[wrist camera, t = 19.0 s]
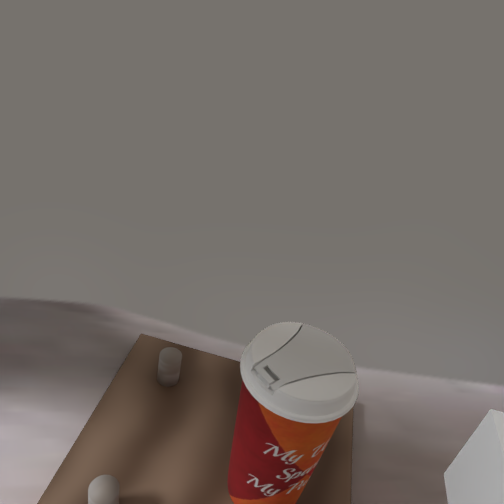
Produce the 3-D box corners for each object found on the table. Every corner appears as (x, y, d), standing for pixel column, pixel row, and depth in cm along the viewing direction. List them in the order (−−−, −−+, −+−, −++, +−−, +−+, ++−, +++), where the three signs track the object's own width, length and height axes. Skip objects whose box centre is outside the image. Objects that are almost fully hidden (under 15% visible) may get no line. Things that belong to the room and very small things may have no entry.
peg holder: (4, 571, 31) (-3, 536, 28) (140, 344, 49) (142, 311, 47) (338, 682, 29) (361, 655, 27) (349, 404, 48) (362, 373, 45)
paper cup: (252, 559, 33) (299, 429, 25) (194, 469, 37) (219, 337, 30) (331, 501, 37) (391, 376, 30) (271, 427, 42) (309, 304, 34)
